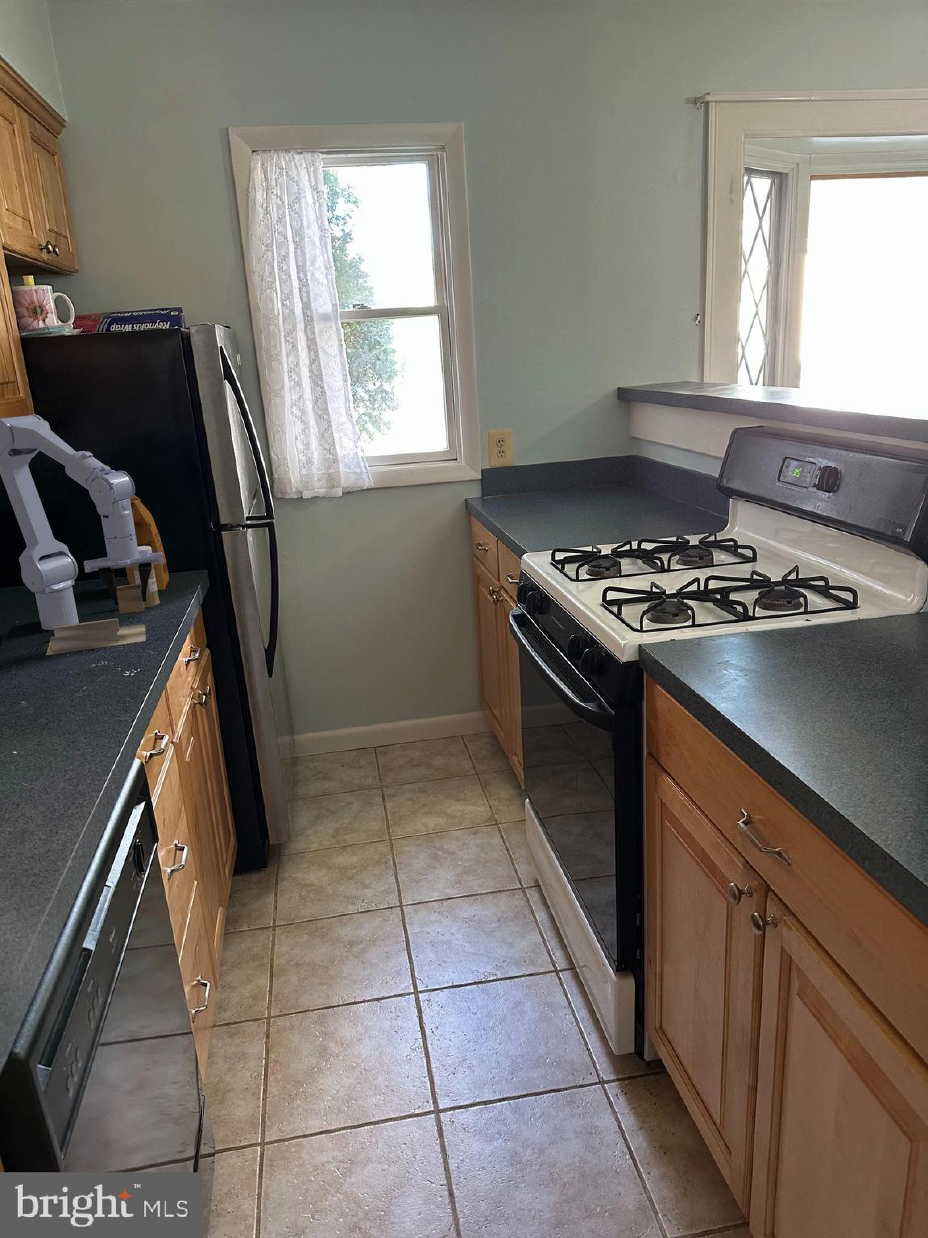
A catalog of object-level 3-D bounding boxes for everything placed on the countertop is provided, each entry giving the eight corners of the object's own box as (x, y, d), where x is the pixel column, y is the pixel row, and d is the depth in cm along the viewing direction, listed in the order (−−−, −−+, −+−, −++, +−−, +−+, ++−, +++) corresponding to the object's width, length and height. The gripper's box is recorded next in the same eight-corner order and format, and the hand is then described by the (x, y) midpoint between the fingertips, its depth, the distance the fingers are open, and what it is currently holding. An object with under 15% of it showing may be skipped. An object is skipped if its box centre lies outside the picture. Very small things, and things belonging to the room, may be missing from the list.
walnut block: (120, 607, 178) (116, 586, 177) (144, 604, 180) (140, 583, 178) (120, 613, 174) (116, 591, 173) (144, 610, 176) (140, 588, 174)
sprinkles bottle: (162, 605, 202) (153, 547, 198) (142, 609, 199) (132, 550, 195) (157, 601, 205) (148, 544, 201) (136, 604, 203) (127, 547, 199)
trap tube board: (52, 641, 179) (49, 625, 178) (145, 628, 185) (143, 612, 184) (47, 660, 168) (43, 642, 167) (146, 645, 174) (143, 628, 173)
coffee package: (124, 595, 212) (109, 504, 205) (130, 583, 223) (115, 496, 217) (168, 590, 214) (154, 500, 207) (171, 578, 225) (158, 492, 219)
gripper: (78, 543, 167) (91, 612, 171) (159, 534, 171) (169, 602, 175) (80, 536, 173) (92, 603, 177) (158, 528, 178) (168, 593, 182)
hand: (131, 602), depth 177 cm, fingers closed on walnut block, 4 cm apart
